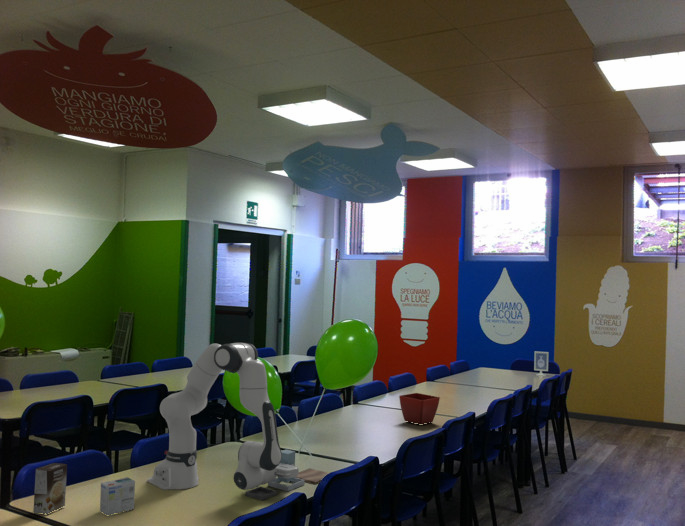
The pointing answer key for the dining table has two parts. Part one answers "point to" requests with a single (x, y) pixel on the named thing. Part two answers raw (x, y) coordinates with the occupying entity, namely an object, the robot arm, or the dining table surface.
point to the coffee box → (50, 488)
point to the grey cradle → (296, 484)
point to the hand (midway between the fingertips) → (287, 464)
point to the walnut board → (311, 475)
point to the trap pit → (261, 493)
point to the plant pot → (419, 407)
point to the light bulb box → (117, 496)
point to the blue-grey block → (287, 462)
